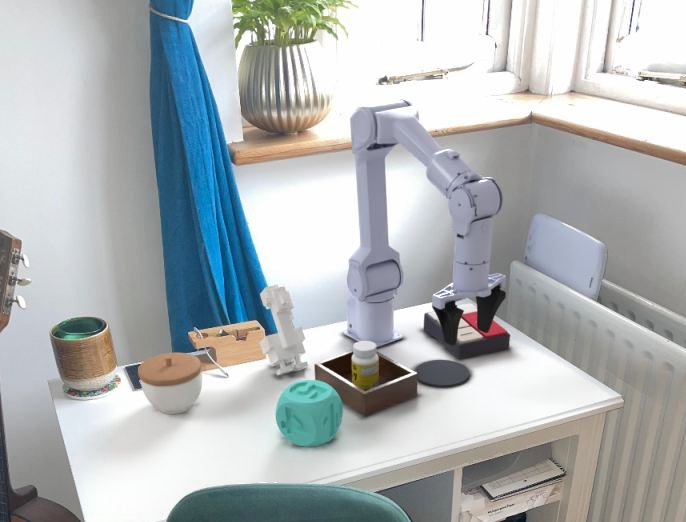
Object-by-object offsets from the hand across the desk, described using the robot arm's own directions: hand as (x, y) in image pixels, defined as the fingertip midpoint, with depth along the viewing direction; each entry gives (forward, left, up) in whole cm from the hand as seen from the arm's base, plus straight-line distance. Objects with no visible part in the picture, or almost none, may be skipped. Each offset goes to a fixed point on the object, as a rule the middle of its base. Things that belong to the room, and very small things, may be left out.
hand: (466, 336), depth 135 cm
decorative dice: (-5, -30, -10) cm, 32 cm away
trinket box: (-28, -43, -10) cm, 52 cm away
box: (-11, -14, -10) cm, 20 cm away
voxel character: (-28, -20, -10) cm, 35 cm away
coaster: (-7, +1, -10) cm, 12 cm away
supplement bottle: (-11, -14, -10) cm, 20 cm away
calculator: (-15, +14, -10) cm, 23 cm away
